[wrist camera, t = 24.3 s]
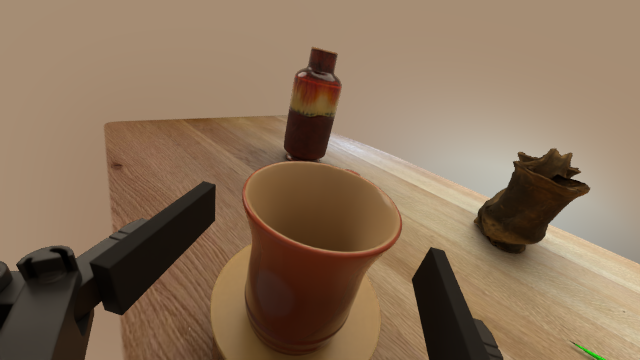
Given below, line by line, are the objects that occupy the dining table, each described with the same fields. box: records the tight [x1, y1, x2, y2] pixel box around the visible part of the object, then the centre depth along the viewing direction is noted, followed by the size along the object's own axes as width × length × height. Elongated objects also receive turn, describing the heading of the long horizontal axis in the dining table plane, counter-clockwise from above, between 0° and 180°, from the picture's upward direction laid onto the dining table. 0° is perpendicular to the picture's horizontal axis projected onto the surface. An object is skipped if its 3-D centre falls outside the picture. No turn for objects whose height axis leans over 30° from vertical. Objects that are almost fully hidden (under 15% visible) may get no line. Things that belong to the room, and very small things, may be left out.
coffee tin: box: [210, 244, 381, 360], centre depth 21 cm, size 13×13×8 cm
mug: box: [242, 161, 402, 356], centre depth 17 cm, size 12×9×10 cm
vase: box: [284, 47, 342, 163], centre depth 57 cm, size 11×11×26 cm
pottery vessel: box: [474, 149, 590, 254], centre depth 45 cm, size 25×11×20 cm, turn 136°
